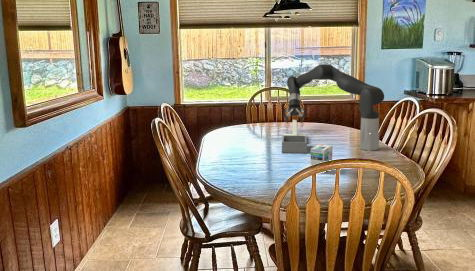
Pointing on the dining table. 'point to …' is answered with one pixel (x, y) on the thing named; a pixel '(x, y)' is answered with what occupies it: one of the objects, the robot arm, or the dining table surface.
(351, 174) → the dining table surface
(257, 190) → the dining table surface
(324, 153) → the light bulb box
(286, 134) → the lid
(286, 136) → the tub
